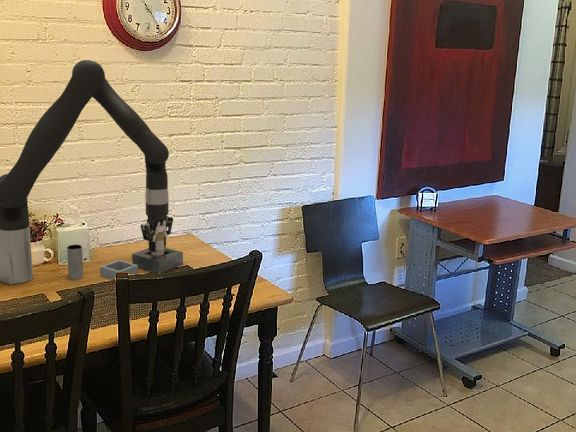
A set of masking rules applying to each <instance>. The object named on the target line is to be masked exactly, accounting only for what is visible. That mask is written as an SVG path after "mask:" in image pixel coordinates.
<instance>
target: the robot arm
mask: <svg viewBox="0 0 576 432" xmlns="http://www.w3.org/2000/svg"><path fill="white" fill-rule="evenodd" d="M105 73H106V72H105V70H104V68H103V66H102V65H101V64H100V63H98V62H96V61H93V60H90V59H84V60H80V61H78V62H77V63H75V64H74V66H73V67H72V71H71V77H70V79H69V81H68V83H67V85H66V86H65V88H64V90H63V92H61V95H60V96H59V97H58V98H57V99H55V101H54V102H53V103H52V105H50V106H49V107H48V109H47V110H46V111H45V112H44V113H43V114H42V116H41V117H40V118H39V120H38V121H37V123H36V124H35V126H34V127H33V129H32V130H31V132H30V134H29V135H28V138H27V139H26V142H25V144H24V146H23V147H22V151H21V153H20V155H19V158H18V160H17V161H16V163H15V164H14V165H13V166H12V168H11V169H10V171H9V172H8V173H5V174H2V175H0V282H2V283H3V284H4V283H5V284H7V285H11V286H12V285H15V284H16V285H17V284H23V283H27V282H29V281H31V280H32V279H34V273H33V272H34V271H33V258H32V256H33V255H32V244H31V227H30V214H29V205H28V197H29V194H30V192H31V191H32V189H33V187H34V185H35V183H36V181H37V179H38V178H39V176H40V175H41V173H42V172H43V171H44V169H45V168H46V167H47V165H48V164H49V163H50V161H51V160H52V159H53V158H54V157H55V155H56V153H57V152H58V151H59V150H60V148H61V146H62V145H63V144H64V143H65V140H66V139H67V138H68V136H69V135H70V133H71V131H72V130H73V128H74V126H75V124H76V122H77V121H78V119H79V117H80V115H81V114H82V112H83V110H84V108H85V107H86V106H87V104H88V103H89V102H90V100H91V99H92V98H93V99H94V100H95V101H96V102H97V103H98V104H99V105H100V106H101V107H102V108H103V110H104V111H106V112H107V114H108V115H109V116H110V117H111V119H112V120H113V121H114V122H115V123H116V125H117V126H118V127H119V128H120V130H121V131H122V132H123V133H124V134H125V135H126V136H127V137H128V139H130V140H131V141H132V142H133V143H134V144H135V145H136V146H137V147H138V149H139V150H140V151H141V152H142V154H144V164H145V170H146V171H145V172H146V173H145V174H146V175H145V195H144V196H145V215H146V217H147V220H146V223H144V224H143V223H141V224H140V229H141V233H142V234H141V235H142V238H143V240H144V241H148V248H149V250H150V251H151V252H155V251H156V241H155V239H156V235H157V234H158V227H160V226H161V225H163V226H164V248H165V247H166V248H167V237H168V235H171V234H172V227H173V224H174V223H173V222H174V217H172V216H168V215H169V205H170V204H169V198H170V197H169V189H168V188H169V186H168V184H169V183H168V182H169V179H168V171H167V170H166V169H167V167H166V163H167V160H168V159H169V157H170V152H169V149H168V147H167V146H166V144H165V143H163V141H161V139H160V138H158V136H157V135H155V133H154V132H153V131H152V130H151V128H150V127H149V126H148V124H147V123H146V122H145V121H144V120H143V118H141V116H140V115H139V114H138V113H137V112H136V111H135V110H134V109H133V108H132V107H131V106H130V105H129V104H128V103H127V102H126V101H125V100H124V99H123V98H122V97H121V96H120V95H119V94H118V93H117V92H116V91H115V89H114V88H113V87H112V85H111V84H110V83H109V81H108V80H107V79H106V74H105ZM151 230H153V231H154V232H152V231H151ZM152 234H153V236H152ZM151 236H152V237H151Z"/></svg>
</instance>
